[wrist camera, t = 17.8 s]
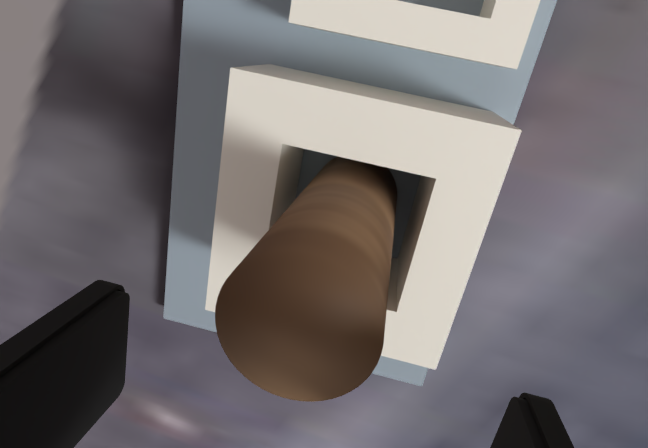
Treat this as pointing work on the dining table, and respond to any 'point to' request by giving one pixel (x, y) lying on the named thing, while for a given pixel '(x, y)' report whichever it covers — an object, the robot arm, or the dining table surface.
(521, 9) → the dock station
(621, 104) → the dining table surface
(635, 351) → the dining table surface
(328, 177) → the dowel
